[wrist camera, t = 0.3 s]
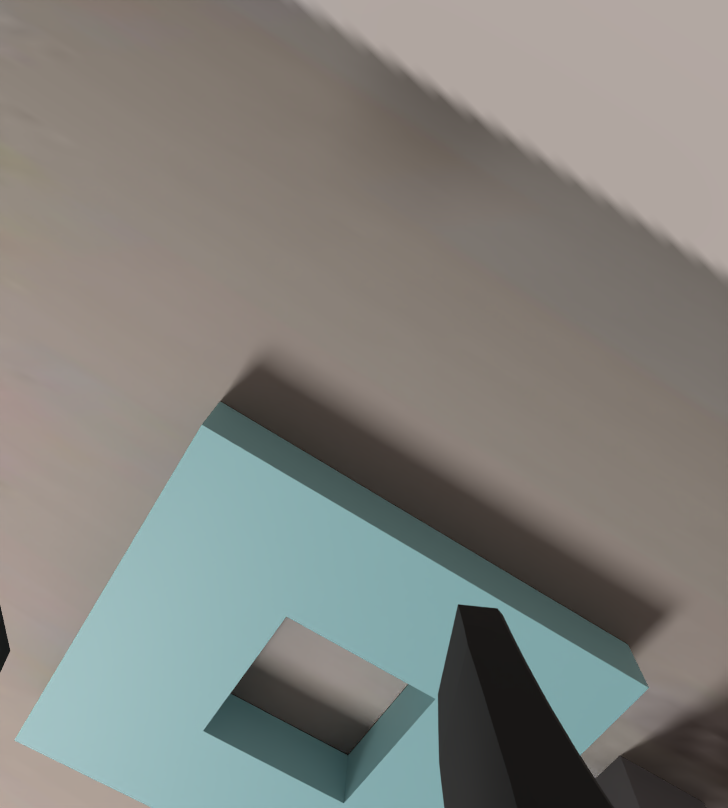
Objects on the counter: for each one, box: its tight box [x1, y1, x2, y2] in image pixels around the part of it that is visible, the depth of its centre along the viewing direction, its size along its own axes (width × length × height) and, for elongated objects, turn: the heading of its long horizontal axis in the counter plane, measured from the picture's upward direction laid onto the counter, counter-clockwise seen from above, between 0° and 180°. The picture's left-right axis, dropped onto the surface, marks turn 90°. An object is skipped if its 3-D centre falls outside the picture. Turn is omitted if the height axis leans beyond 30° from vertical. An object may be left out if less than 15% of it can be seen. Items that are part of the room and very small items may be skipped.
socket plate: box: [15, 402, 649, 808], centre depth 23 cm, size 14×16×2 cm
